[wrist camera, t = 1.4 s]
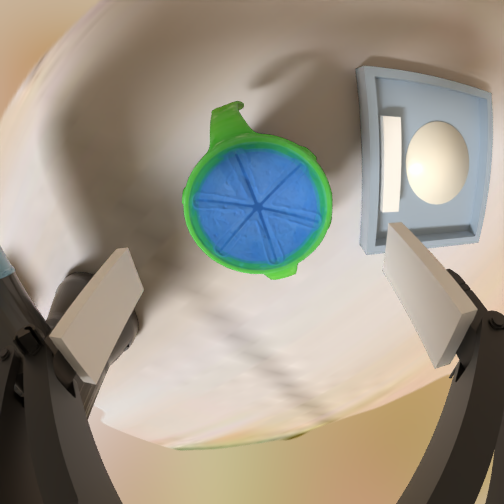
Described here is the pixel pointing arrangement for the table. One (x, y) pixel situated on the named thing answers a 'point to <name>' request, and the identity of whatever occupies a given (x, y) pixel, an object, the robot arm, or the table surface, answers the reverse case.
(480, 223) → the meal tray
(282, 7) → the table surface
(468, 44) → the table surface
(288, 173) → the snack cup
